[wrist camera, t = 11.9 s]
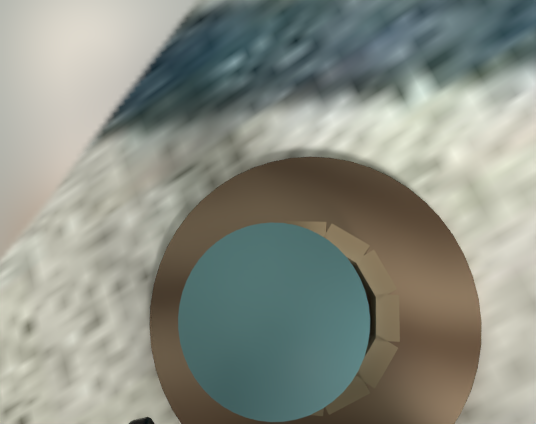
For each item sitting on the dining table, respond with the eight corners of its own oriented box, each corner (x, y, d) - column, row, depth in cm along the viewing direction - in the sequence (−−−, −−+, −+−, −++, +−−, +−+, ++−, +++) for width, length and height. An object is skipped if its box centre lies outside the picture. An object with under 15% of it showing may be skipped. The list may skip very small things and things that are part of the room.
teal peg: (365, 338, 22) (405, 375, 10) (283, 373, 22) (216, 453, 10) (328, 256, 23) (320, 193, 11) (250, 290, 24) (153, 266, 11)
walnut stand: (487, 511, 20) (518, 551, 17) (138, 473, 23) (104, 501, 20) (468, 159, 24) (490, 134, 21) (168, 161, 26) (144, 139, 23)
